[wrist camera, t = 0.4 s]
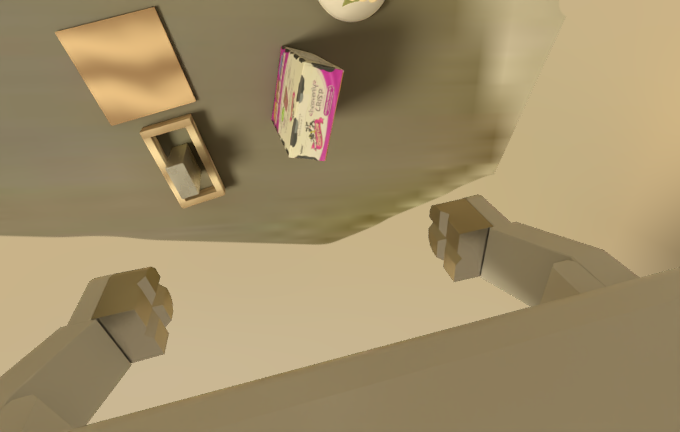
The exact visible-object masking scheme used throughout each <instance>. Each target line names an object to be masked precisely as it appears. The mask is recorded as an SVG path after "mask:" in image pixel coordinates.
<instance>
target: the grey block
mask: <svg viewBox="0 0 680 432" xmlns="http://www.w3.org/2000/svg"><path fill="white" fill-rule="evenodd" d="M165 169H166V171H167V173H168V175H169V177H170V178H171V180H172V182H173V184H174V186H175V187H176V189H177V191H178V193H179V195H180V196H181V198H182V199H185V198H188V197H191V196H194V195H197V194H199V188H200V179H201V170H200V168H199V166H198V163H197V161H196V159H195V157H194V155H193V153H192V151H191V149H190V147H189V145H188V143H185V144H182V145H179V146H176V147H172V148H171V152H170V155H169V158H168V161H167V164H166V167H165Z"/></svg>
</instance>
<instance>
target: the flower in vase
mask: <svg viewBox="0 0 680 432" xmlns="http://www.w3.org/2000/svg"><path fill="white" fill-rule="evenodd" d="M318 1H319V3H320V4H321V6H322V7H323V8H324V9H325V10H326V11H327V13H329V14H330V15H331V16H333V17H334V18H336V19H338V20H341V21H344V22H358V21H362V20H365V19H367V18H368V17H370V16H371V15H373V14H374V13H375V12H376V11H377V10H378V9H379V8H380V7H381V5H382V4H383V2H384V1H385V0H318Z"/></svg>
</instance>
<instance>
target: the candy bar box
mask: <svg viewBox="0 0 680 432" xmlns="http://www.w3.org/2000/svg"><path fill="white" fill-rule="evenodd" d="M343 74H344V70H343V69H341V68H339V67H337V66H335V65H333V64H331V63H330V62H328V61H326V60H324V59H322V58H320V57H318V56H316V55H314V54H312V53H309V52H305V51H301V50H297V49H293V48H289V47H285V46H282V47H281V53H280V61H279V68H278V76H277V84H276V91H275V98H274V106H273V113H272V122H273V124H274V126H275V128H276V130H277V132H278V134H279V136H280V139H281V141H282V143H283V145H284V147H285V149H286V151H287V153H288V155H289V157H291V158H304V159H315V160H317V161H326V156H327V151H328V146H329V140H330V135H331V130H332V126H333V121H334V116H335V111H336V107H337V102H338V97H339V93H340V88H341V83H342V78H343Z"/></svg>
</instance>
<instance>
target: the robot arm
mask: <svg viewBox="0 0 680 432" xmlns="http://www.w3.org/2000/svg"><path fill="white" fill-rule="evenodd" d="M429 216H430V218H431V220H432V221H433V223H432V225H431V226H430V227H429V242H430V246H431V248H432V251H433V252H434V254H435V255H436V257H438V258H440V259H442V260H444V264H443V267H444V269H445V270H446V271H447V273H448V274H449V276H450V277H451V279H452V280H453V281H454V282H456V281H460V280H464V279H469V278H474V277H478V276H481V278H483V279H484V280H486V281H488V282H489V283H491V284H493V285H495V286H496V287H498V288H500V289H502V290H503V291H505V292H507V293H509V294H510V295H512V296H514V297H515V298H517V299H519V300H521V301H522V302H524V303H526V304H527V305H529V306H531V307H528V308H525V309H521V310H517V311H513V312H509V313H506V314H502V315H498V316H494V317H491V318H487V319H483V320H479V321H476V322H472V323H468V324H464V325H461V326H457V327H453V328H449V329H446V330H442V331H438V332H434V333H431V334H427V335H423V336H419V337H415V338H412V339H408V340H404V341H400V342H397V343H393V344H390V345H386V346H382V347H378V348H374V349H370V350H367V351H363V352H359V353H355V354H352V355H348V356H344V357H340V358H337V359H333V360H329V361H326V362H322V363H318V364H314V365H310V366H307V367H303V368H299V369H295V370H292V371H288V372H284V373H281V374H277V375H273V376H269V377H265V378H262V379H258V380H254V381H250V382H247V383H243V384H239V385H236V386H232V387H228V388H224V389H220V390H217V391H213V392H209V393H205V394H202V395H198V396H194V397H190V398H187V399H183V400H179V401H175V402H172V403H168V404H164V405H160V406H157V407H153V408H149V409H145V410H142V411H138V412H134V413H130V414H127V415H123V416H120V417H116V418H112V419H108V420H104V421H100V422H97V423H93V424H89V425H86V424H87V423H88V422H89V421H90V419H91V418H92V416H93V415H94V414H95V413H96V411H97V410H98V409H99V407H100V406H101V405H102V403H103V402H104V401H105V399H106V398H107V397H108V395H109V394H110V393H111V391H112V390H113V389H114V387H115V386H116V385H117V384H118V382H119V381H120V380H121V378H122V377H123V376H124V374H125V373H126V372H127V370H128V369H129V368H130V366H131V363H134V362H137V361H141V360H144V359H148V358H152V357H155V356H159V355H163V354H164V353H165V349H166V344H167V339H168V334H169V333H168V331H167V330H166V328H165V327H166V326H167V325H168V323H169V322H170V321H171V320H172V315H173V303H172V299H171V296H170V293H169V291H168V289H167V288H166V287H164V286H162V285H160V284H159V280H160V275H159V274H158V272H157V271H156V269H155V268H153V267H147V268H142V269H137V270H132V271H127V272H122V273H116V274H113V275H107V276H103V277H98V278H94V279H92V280H91V281H90V282H89V283H88V285H87V287H86V289H85V291H84V293H83V295H82V297H81V299H80V301H79V303H78V305H77V307H76V309H75V311H74V313H73V315H72V317H71V319H70V321H69V323H68V325H67V326H65V327H61V328H59V329H58V330H57V331H55V332H54V333H53V334H52V335H51V336H49V337H48V338H47V339H46V340H45V341H43V342H42V343H41V344H40V345H39V346H37V347H36V348H35V349H34V350H32V351H31V352H30V353H29V354H28V355H26V356H25V357H24V358H23V359H22V360H20V361H19V362H18V363H17V364H16V365H14V366H13V367H12V368H11V369H10V370H8V371H7V372H6V373H5V374H3V375H2V376H1V377H0V432H680V267H678V268H674V269H671V270H667V271H664V272H659V273H656V274H652V275H648V276H644V277H641V278H640V277H638V276H637V275H636V274H634V273H633V272H632V271H630V270H629V269H628V268H627V267H625V266H624V265H623V264H621V263H620V262H619V261H617V260H616V259H615V258H614V257H612V256H611V255H610V254H608V253H607V252H605V251H604V250H602V249H599V248H596V247H593V246H590V245H587V244H584V243H580V242H577V241H574V240H571V239H567V238H565V237H561V236H558V235H555V234H552V233H549V232H546V231H543V230H540V229H537V228H534V227H531V226H527V225H524V224H521V223H518V222H513V223H511V222H510V221H509V220H508V219H507V218H506V217H504V216H503V215H502V214H501V213H500V212H499V211H498V210H497V209H496V208H495V207H493V206H492V205H491V204H490V203H489V202H488V201H487V200H486V199H485V198H484V197H483V196H481V195H474V196H470V197H466V198H463V199H459V200H455V201H450V202H446V203H442V204H437V205H432V206H431V209H430V215H429Z"/></svg>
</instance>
